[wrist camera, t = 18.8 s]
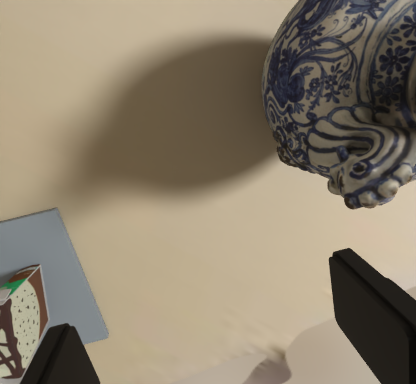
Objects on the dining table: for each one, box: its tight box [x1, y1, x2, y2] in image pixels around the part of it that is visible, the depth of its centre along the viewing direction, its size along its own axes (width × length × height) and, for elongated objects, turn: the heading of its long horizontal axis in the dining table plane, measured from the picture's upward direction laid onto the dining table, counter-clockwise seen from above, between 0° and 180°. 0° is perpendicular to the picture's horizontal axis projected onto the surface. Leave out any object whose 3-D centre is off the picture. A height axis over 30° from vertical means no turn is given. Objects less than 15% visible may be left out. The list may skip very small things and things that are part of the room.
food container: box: [0, 264, 50, 384], centre depth 39 cm, size 12×6×10 cm, turn 179°
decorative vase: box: [262, 0, 416, 209], centre depth 28 cm, size 21×19×28 cm
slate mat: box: [0, 208, 109, 357], centre depth 44 cm, size 22×16×1 cm
